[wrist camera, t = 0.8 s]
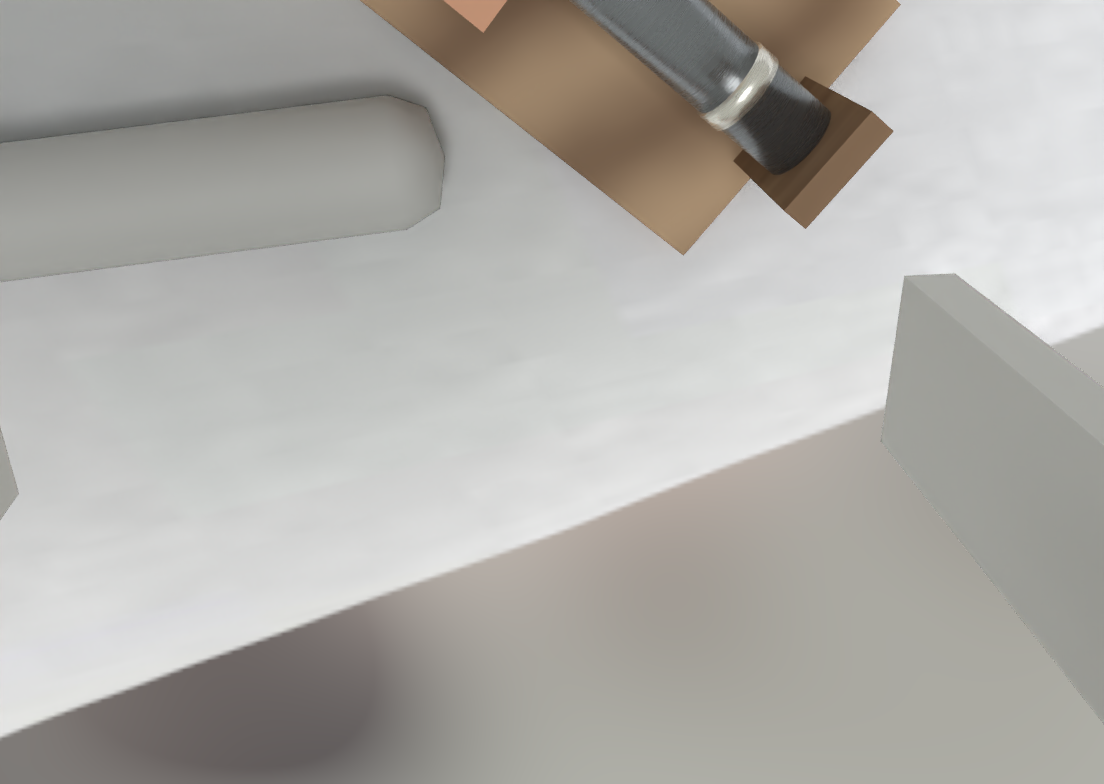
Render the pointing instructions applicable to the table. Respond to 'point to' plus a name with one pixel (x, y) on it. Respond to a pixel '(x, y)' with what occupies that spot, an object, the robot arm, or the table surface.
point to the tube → (216, 185)
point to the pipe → (719, 75)
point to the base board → (656, 101)
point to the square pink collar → (477, 10)
